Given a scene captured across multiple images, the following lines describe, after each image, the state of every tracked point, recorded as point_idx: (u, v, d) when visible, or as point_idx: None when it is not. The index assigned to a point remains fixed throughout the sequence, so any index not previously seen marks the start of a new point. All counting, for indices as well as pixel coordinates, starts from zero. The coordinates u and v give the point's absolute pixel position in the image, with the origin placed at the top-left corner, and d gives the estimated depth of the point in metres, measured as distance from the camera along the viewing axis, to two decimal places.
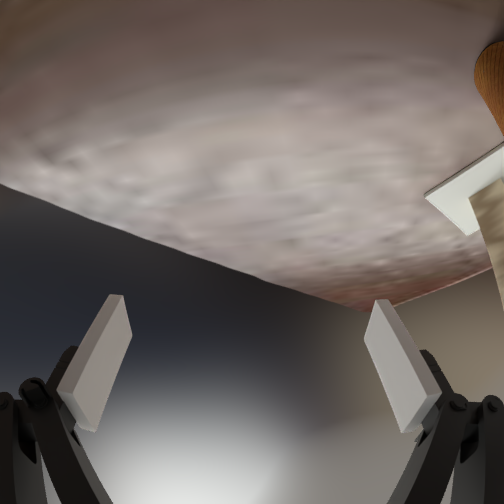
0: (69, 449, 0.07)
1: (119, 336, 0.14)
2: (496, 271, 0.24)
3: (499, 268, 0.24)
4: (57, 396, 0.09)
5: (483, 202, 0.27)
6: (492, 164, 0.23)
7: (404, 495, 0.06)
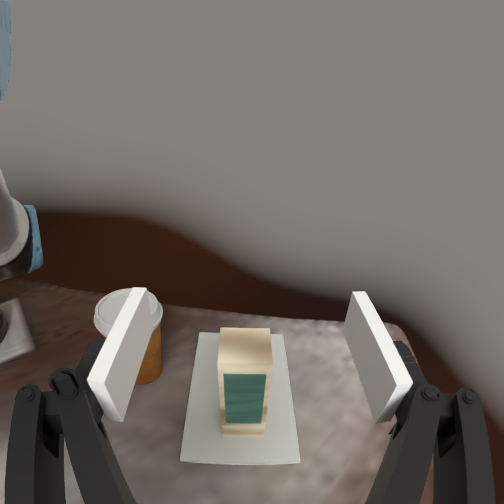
0: (96, 442, 0.07)
1: (143, 328, 0.15)
2: (219, 390, 0.29)
3: None
4: (86, 386, 0.10)
5: None
6: (199, 404, 0.37)
7: (383, 490, 0.06)
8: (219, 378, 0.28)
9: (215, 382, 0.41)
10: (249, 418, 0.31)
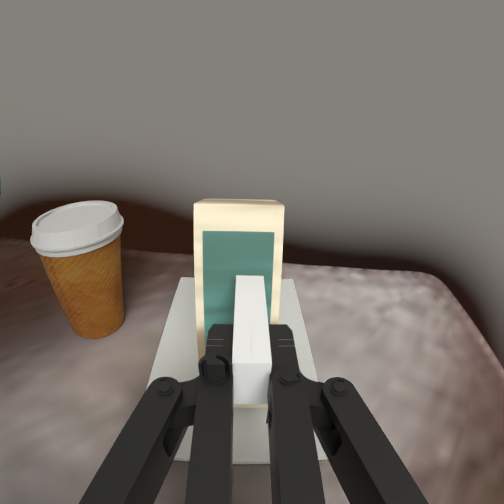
0: (227, 435, 0.08)
1: None
2: (195, 281, 0.18)
3: None
4: None
5: None
6: (170, 366, 0.25)
7: (278, 489, 0.07)
8: (195, 244, 0.17)
9: None
10: None
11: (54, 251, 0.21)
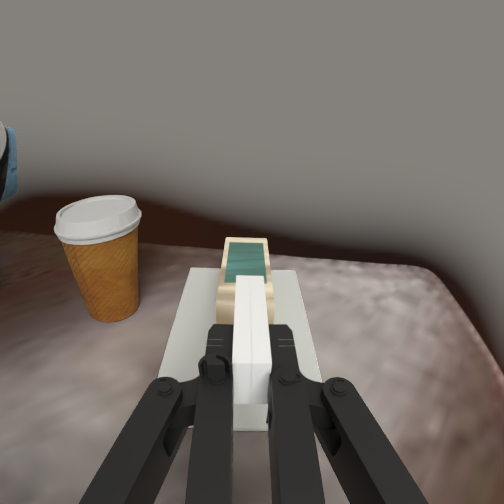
0: (227, 435, 0.08)
1: None
2: (223, 256, 0.34)
3: None
4: None
5: None
6: (183, 345, 0.28)
7: (278, 489, 0.07)
8: (225, 245, 0.36)
9: (207, 319, 0.32)
10: None
11: (78, 239, 0.24)
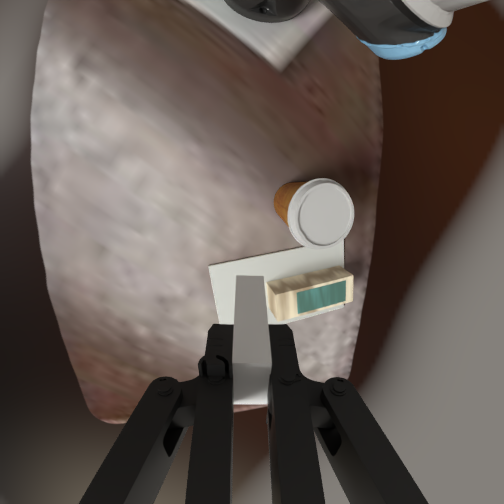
0: (227, 435, 0.08)
1: None
2: (328, 280, 0.50)
3: (326, 280, 0.50)
4: None
5: (280, 288, 0.50)
6: (263, 264, 0.51)
7: (278, 489, 0.07)
8: (341, 279, 0.50)
9: (288, 269, 0.53)
10: (304, 305, 0.50)
11: (288, 221, 0.39)
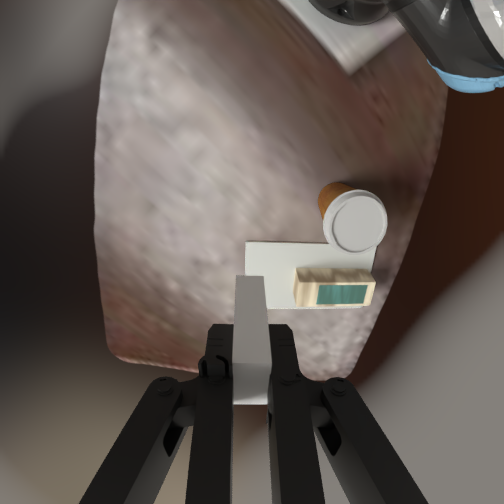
0: (227, 435, 0.08)
1: None
2: (352, 281, 0.52)
3: (350, 280, 0.52)
4: None
5: (306, 277, 0.53)
6: (296, 251, 0.54)
7: (278, 489, 0.07)
8: (364, 282, 0.52)
9: (318, 261, 0.55)
10: (323, 298, 0.53)
11: (323, 222, 0.41)
